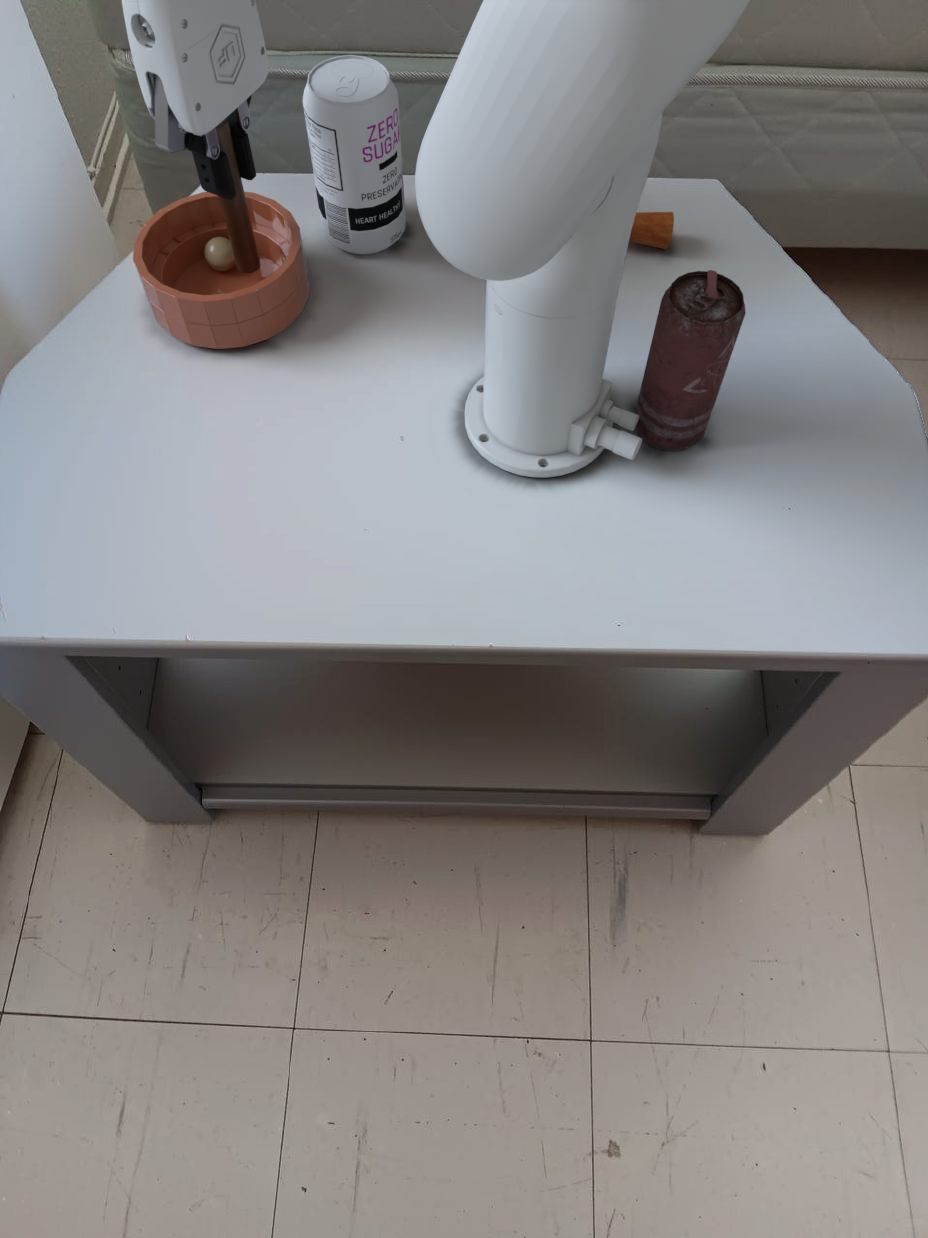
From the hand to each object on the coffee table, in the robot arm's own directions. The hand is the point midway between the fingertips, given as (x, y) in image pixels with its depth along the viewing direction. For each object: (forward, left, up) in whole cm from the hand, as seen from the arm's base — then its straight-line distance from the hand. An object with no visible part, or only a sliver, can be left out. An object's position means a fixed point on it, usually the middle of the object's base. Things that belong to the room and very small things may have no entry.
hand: (229, 182), depth 77 cm
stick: (0, 0, -9) cm, 9 cm away
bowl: (+1, +2, -11) cm, 11 cm away
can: (-41, -3, -11) cm, 43 cm away
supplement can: (-5, -12, -11) cm, 17 cm away
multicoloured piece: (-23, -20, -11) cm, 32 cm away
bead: (+3, 0, -9) cm, 9 cm away
